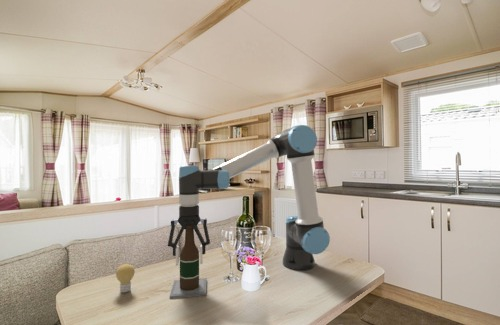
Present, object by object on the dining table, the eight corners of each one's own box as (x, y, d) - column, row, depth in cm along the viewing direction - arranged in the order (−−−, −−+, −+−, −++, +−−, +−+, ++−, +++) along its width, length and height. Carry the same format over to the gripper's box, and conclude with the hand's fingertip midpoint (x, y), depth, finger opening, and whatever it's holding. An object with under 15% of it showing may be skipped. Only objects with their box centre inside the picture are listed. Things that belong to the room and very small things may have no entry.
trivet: (206, 280, 109) (206, 278, 109) (206, 295, 96) (206, 293, 96) (174, 282, 107) (174, 280, 107) (169, 298, 94) (169, 295, 94)
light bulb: (131, 285, 105) (130, 260, 105) (137, 291, 100) (137, 264, 100) (113, 291, 100) (113, 264, 100) (119, 297, 96) (119, 269, 96)
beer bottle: (194, 292, 97) (194, 227, 97) (175, 289, 99) (175, 226, 99) (202, 282, 105) (202, 222, 105) (184, 281, 106) (184, 221, 107)
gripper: (216, 202, 107) (216, 258, 107) (162, 204, 104) (162, 261, 104) (216, 205, 100) (217, 265, 100) (158, 207, 97) (159, 268, 97)
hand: (189, 263), depth 102 cm, fingers open, 8 cm apart
